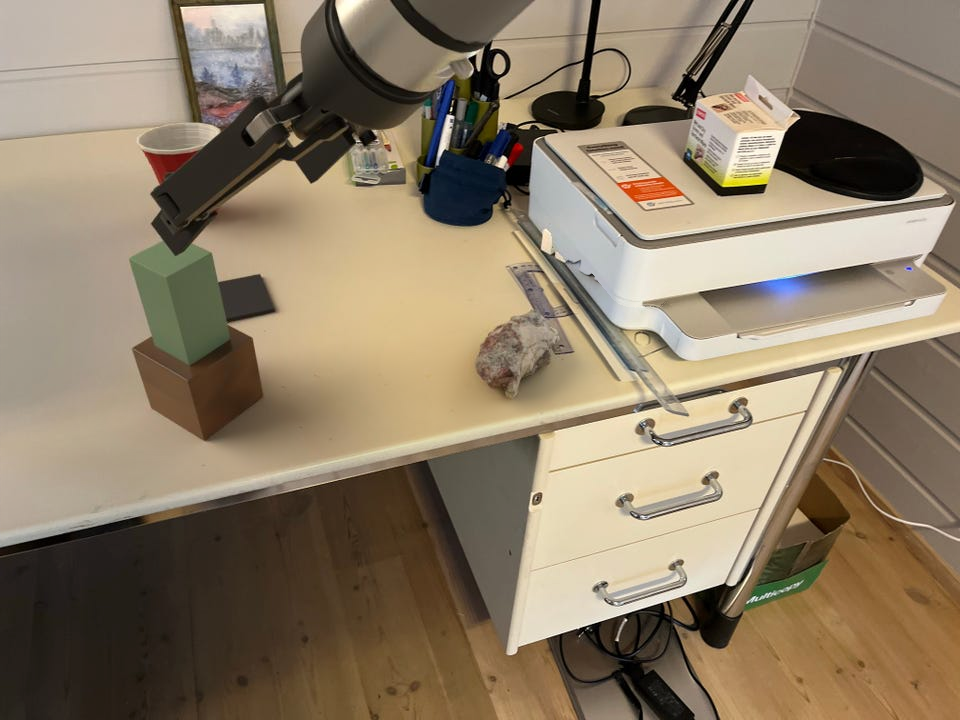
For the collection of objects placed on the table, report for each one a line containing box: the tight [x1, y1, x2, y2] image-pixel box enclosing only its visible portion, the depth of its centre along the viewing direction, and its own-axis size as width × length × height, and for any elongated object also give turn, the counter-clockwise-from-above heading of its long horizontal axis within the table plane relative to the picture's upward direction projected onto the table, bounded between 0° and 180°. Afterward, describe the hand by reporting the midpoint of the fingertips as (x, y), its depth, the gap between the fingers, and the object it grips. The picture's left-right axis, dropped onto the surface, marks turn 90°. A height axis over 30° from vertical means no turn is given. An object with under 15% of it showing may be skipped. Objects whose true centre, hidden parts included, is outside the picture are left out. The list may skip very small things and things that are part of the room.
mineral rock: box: [474, 308, 561, 400], centre depth 84 cm, size 15×8×4 cm, turn 142°
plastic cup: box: [135, 122, 221, 213], centre depth 103 cm, size 11×11×12 cm
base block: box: [131, 324, 264, 442], centre depth 76 cm, size 8×8×8 cm
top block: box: [128, 240, 230, 366], centre depth 70 cm, size 5×5×10 cm
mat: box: [218, 273, 276, 323], centre depth 91 cm, size 12×8×1 cm, turn 115°
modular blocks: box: [540, 228, 567, 263], centre depth 100 cm, size 20×7×4 cm, turn 44°
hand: (240, 200), depth 57 cm, fingers open, 13 cm apart
